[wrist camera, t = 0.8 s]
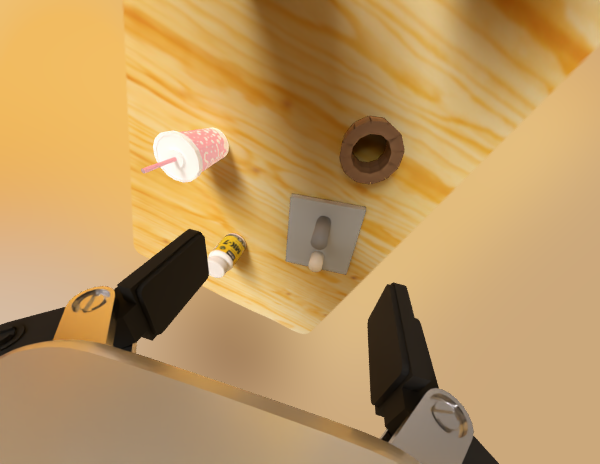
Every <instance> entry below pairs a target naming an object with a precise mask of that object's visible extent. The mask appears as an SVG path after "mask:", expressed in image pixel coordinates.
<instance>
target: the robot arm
mask: <svg viewBox="0 0 600 464" xmlns="http://www.w3.org/2000/svg"><path fill="white" fill-rule="evenodd" d="M208 276H209V268H208V260H207V252H206V244H205V237H204V236H203V235H202V233H201V232H199V231H195V230H191V229H188V230H187V231H185V232H184V233H183V234H182V235H180V236H179V237H178V238H176V239H175V240H174V241H173V242H171V243H170V244H169V245H168V246H166V247H165V248H164V249H162V250H161V251H160V252H159V253H157V254H156V255H155V256H153V257H152V258H151V259H150V260H148V261H147V262H146V263H144V264H143V265H142V266H141V267H139V268H138V269H137V270H136V271H134V272H133V273H132V274H131V275H129V276H128V277H127V278H125V279H124V280H123V281H122V282H120V283H119V284H118V287H117V288H115V290H113V289H112V288H110V287H108V286H98V287H93V288H90V289H87V290H85V291H83V292H80V293H79V294H77V295H76V296H74V297H73V298H72V299H71V300H70V301H69V302H68V304H67V305H66V307H63V308H60V309H56V310H52V311H48V312H44V313H41V314H37V315H33V316H30V317H26V318H22V319H18V320H15V321H11V322H7V323H4V324H1V325H0V464H499V463H498V462H497V461H496V460H495V459H494V458H493V457H492V456H491V454H490V453H489V452H488V451H487V450H486V449H485V448H484V447H483V446H482V444H480V442H479V441H478V440H477V439H476V438H475V437H474V436H473V433H474V431H473V425H472V422H471V419H470V417H469V415H468V413H467V411H466V410H465V408H464V407H463V406H462V404H461V403H460V402H459V401H458V400H457V399H456V398H455V397H454V396H452V395H451V394H450V393H448V392H446V391H444V390H442V389H439V387H438V384H437V380H436V377H435V373H434V369H433V366H432V362H431V359H430V355H429V351H428V348H427V344H426V341H425V337H424V334H423V330H422V327H421V324H420V321H419V320H418V319H416V318H414V314H413V310H412V306H411V302H410V298H409V294H408V291H407V288H406V286H404V285H400V284H396V283H392V284H391V285H387V286H386V287H385V289H384V291H383V293H382V295H381V297H380V299H379V300H378V302H377V304H376V306H375V308H374V310H373V311H372V313H371V315H370V317H369V319H368V347H369V370H370V391H371V403H372V404H373V405H375V411H376V415H379V416H382V417H384V420H385V427H386V428H387V429H386V431H385V432H384V433H383V435H382V436H381V438H380V439H379V438H376V437H374V436H372V435H369V434H367V433H364V432H362V431H359V430H357V429H354V428H351V427H348V426H346V425H343V424H340V423H337V422H335V421H332V420H329V419H327V418H323V417H321V416H318V415H315V414H312V413H309V412H306V411H304V410H301V409H298V408H295V407H292V406H289V405H286V404H283V403H280V402H278V401H275V400H272V399H269V398H266V397H263V396H260V395H257V394H254V393H252V392H249V391H246V390H243V389H240V388H236V387H234V386H231V385H228V384H225V383H222V382H219V381H216V380H213V379H210V378H208V377H205V376H201V375H198V374H196V373H193V372H190V371H187V370H184V369H181V368H178V367H175V366H172V365H169V364H166V363H163V362H160V361H157V360H154V359H151V358H148V357H145V356H142V355H139V354H136V347H137V341H138V340H139V339H140V338H141V337H143V338H146V339H149V340H153V339H154V338H155V337H156V336H157V335H159V334H161V333H162V332H163V331H164V330H165V329H166V328H167V327H168V325H169V324H170V323H171V322H172V320H173V319H174V318H175V317H176V316H177V315H178V313H179V312H180V311H181V310H182V309H183V307H184V306H185V305H186V304H187V302H188V301H189V300H190V299H191V298H192V296H193V295H194V294H195V293H196V292H197V290H198V289H199V288H200V287H201V286H202V284H203V283H204V282H205V281H206V280H207V278H208Z"/></svg>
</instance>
